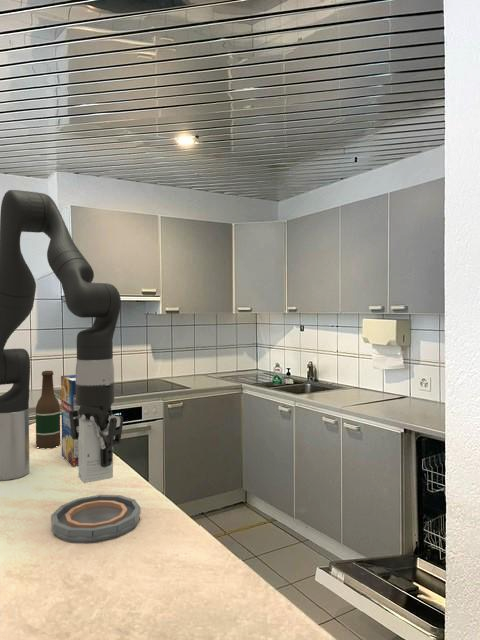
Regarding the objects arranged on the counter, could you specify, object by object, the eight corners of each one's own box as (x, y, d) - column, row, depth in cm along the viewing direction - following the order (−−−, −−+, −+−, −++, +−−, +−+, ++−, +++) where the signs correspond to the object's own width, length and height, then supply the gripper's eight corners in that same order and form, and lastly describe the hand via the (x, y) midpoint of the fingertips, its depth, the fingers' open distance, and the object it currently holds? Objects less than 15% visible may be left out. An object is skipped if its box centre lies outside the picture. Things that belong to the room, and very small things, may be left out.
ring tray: (34, 528, 96) (34, 516, 95) (101, 499, 110) (101, 489, 110) (91, 551, 86) (91, 538, 86) (156, 517, 101) (156, 505, 100)
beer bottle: (55, 449, 149) (54, 372, 149) (30, 449, 150) (29, 372, 149) (65, 442, 157) (64, 369, 157) (41, 442, 157) (40, 369, 157)
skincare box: (84, 484, 94) (83, 423, 94) (77, 477, 98) (77, 418, 98) (114, 478, 98) (114, 419, 97) (107, 471, 101) (106, 414, 101)
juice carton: (61, 456, 142) (60, 375, 142) (87, 452, 147) (86, 373, 146) (73, 467, 132) (72, 380, 132) (99, 462, 137) (99, 378, 136)
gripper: (56, 380, 98) (57, 462, 99) (104, 386, 90) (105, 475, 91) (86, 376, 104) (87, 453, 105) (133, 381, 97) (134, 464, 97)
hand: (95, 463), depth 98 cm, fingers closed on skincare box, 5 cm apart
